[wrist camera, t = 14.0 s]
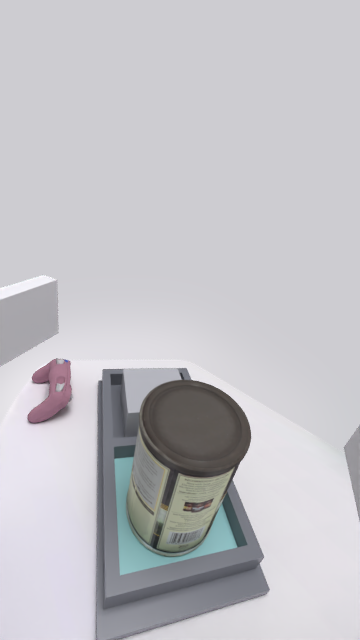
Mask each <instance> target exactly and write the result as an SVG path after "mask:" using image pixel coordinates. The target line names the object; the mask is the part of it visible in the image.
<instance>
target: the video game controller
mask: <svg viewBox="0 0 360 640" xmlns="http://www.w3.org/2000/svg"><path fill="white" fill-rule="evenodd" d="M70 364H71V363H70V361H68V360H64V359H54V360H52V361H51V362H50V363H48V364H47V365H46V366H44V367H42V368H40V369H39V370H37V371H36V372H35V373H34V374H33V376H32V380H33V381H34V382H35V383H43V382H46V381H49V383H50V389H49V396H48V398H47V399H46V400H45V401H43V402H42V403H41V404H39V405H38V406H37V407H35V408H34V409H33V410H31V412H30V413H29V414H28V418H27V419H28V420H29V421H30V422H32V423H36V422H41V421H44V420H46V419H48V418H50V417H52V416H53V415H55V414H56V413H57V412H58V411H59V410H61V409H63V408H65V407H66V405H67V404H68V402H70V401H71V400H72V394H71V390H72V388H71V386H70V378H71V371H70Z"/></svg>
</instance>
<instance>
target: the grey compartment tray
mask: <svg viewBox="0 0 360 640" xmlns="http://www.w3.org/2000/svg"><path fill="white" fill-rule="evenodd" d="M174 380H191V378H190V376H189V373H188V371H187V368H140V369H103V372H102V381H99V382H98V498H97V637H96V640H118V639H122V638H125V637H128V636H131V635H135V634H138V633H141V632H144V631H148V630H151V629H154V628H157V627H161V626H164V625H167V624H170V623H174V622H177V621H180V620H184V619H187V618H190V617H193V616H197V615H200V614H203V613H206V612H210V611H213V610H216V609H219V608H223V607H226V606H229V605H232V604H236V603H239V602H242V601H245V600H249V599H252V598H255V597H258V596H262V595H265V594H267V593H268V591H269V590H270V589H269V587H268V584H267V582H266V579H265V577H264V574H263V572H262V569H261V567H260V562H261V561H262V559H263V558H264V555H263V553H262V550H261V548H260V546H259V543H258V541H257V538H256V536H255V533H254V531H253V529H252V526H251V524H250V521H249V519H248V516H247V514H246V512H245V509H244V507H243V504H242V502H241V499H240V497H239V495H238V492H237V490H236V487H235V485H234V482H233V480H232V482H231V484H230V486H229V488H228V490H227V493H226V495H225V497H224V499H223V501H222V504H221V506H220V508H219V510H218V513H217V515H216V517H215V519H214V521H213V524H212V527H211V530H210V532H209V534H208V536H207V538H206V539H205V540H204V542H203V543H202V544H201V545H200V546H199V547H198V548H196V549H195V550H194V551H192V552H190V553H188V554H185V555H182V556H176V557H169V556H163V555H159V554H156V553H154V552H152V551H150V550H149V549H147V548H146V547H145V546H144V545H143V544H142V543H141V542H140V541H139V540H138V539H137V537H136V536H135V535H134V534H133V532H132V529H131V527H130V525H129V522H128V519H127V515H126V497H127V492H128V489H129V484H130V477H131V472H132V465H133V459H134V453H135V447H136V440H137V434H138V428H139V412H140V408H141V404H142V402H143V400H144V398H145V397H146V395H147V394H148V393H149V392H150V391H151V390H152V389H154V388H155V387H157V386H158V385H161V384H163V383H166V382H169V381H174Z"/></svg>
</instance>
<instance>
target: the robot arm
mask: <svg viewBox="0 0 360 640" xmlns="http://www.w3.org/2000/svg"><path fill="white" fill-rule="evenodd" d="M57 295H58V294H57V280H56V279H53V278H50V277H47V276H45V275H42V276H38V277H35V278H32V279H29V280H25V281H22V282H19V283H16V284H12V285H9V286H6V287H3V288H0V366H2V365H4V364H6V363H7V362H9V361H11V360H13V359H14V358H16V357H18V356H19V355H21V354H23V353H25V352H26V351H28V350H30V349H31V348H33V347H35V346H36V345H38V344H40V343H42V342H44V341H45V340H47V339H49V338H50V337H52V336H54V335H56V334H57V333H58V297H57ZM344 450H345V455H346V460H347V464H348V469H349V474H350V478H351V483H352V488H353V492H354V497H355V502H356V506H357V511H358V516H359V520H360V426H359V427H358V428H357V430H356V431H355V433H354V434H353V435H352V437H351V438H350V440H349V441H348V443H347V444H346V445H345V447H344Z"/></svg>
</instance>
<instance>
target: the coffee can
mask: <svg viewBox="0 0 360 640" xmlns="http://www.w3.org/2000/svg"><path fill="white" fill-rule="evenodd" d="M250 441H251V430H250V426H249V422H248V419H247V417H246V415H245V413H244V412H243V410H242V409H241V407H240V406H239V405H238V404H237V403H236V402H235V401H234V400H233V399H232V398H231V397H230V396H229V395H227V394H226V393H224V392H223V391H221V390H220V389H218V388H216V387H214V386H211V385H209V384H206V383H203V382H199V381H193V380H174V381H169V382H166V383H163V384H161V385H158V386H157V387H155V388H154V389H152V390H151V391H150V392H149V393H148V394H147V395H146V397H145V398H144V400H143V402H142V404H141V408H140V412H139V428H138V434H137V440H136V447H135V453H134V459H133V465H132V472H131V477H130V484H129V489H128V492H127V497H126V515H127V519H128V522H129V525H130V527H131V529H132V532H133V534H134V535H135V536H136V537H137V539H138V540H139V541H140V542H141V543H142V544H143V545H144V546H145V547H146V548H147V549H149V550H150V551H152V552H154V553H156V554H159V555H163V556H169V557H176V556H182V555H185V554H188V553H190V552H192V551H194V550H195V549H196V548H198V547H199V546H200V545H201V544H202V543H203V542H204V540H205V539H206V538H207V536H208V534H209V532H210V530H211V527H212V524H213V521H214V519H215V517H216V515H217V513H218V510H219V508H220V506H221V504H222V501H223V499H224V497H225V495H226V493H227V490H228V488H229V486H230V484H231V482H232V479H233V477H234V475H235V473H236V471H237V468H238V466H239V464H240V462H241V460H242V459H243V458H244V456H245V455H246V453H247V451H248V448H249V446H250Z"/></svg>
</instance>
